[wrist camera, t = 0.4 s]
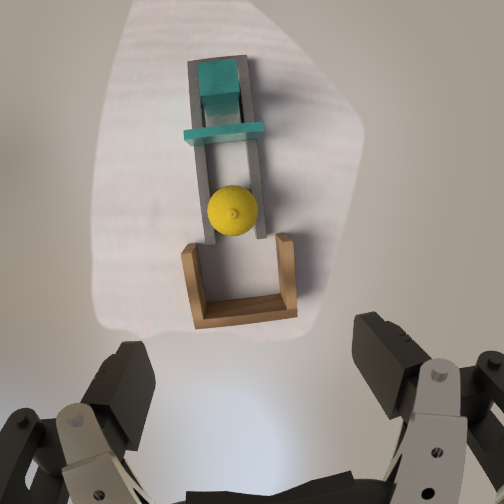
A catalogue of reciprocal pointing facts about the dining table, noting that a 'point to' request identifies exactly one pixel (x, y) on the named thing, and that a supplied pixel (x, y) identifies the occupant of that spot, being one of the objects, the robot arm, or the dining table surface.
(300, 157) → the dining table surface
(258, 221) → the rails
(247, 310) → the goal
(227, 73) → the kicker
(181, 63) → the dining table surface
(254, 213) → the lemon
